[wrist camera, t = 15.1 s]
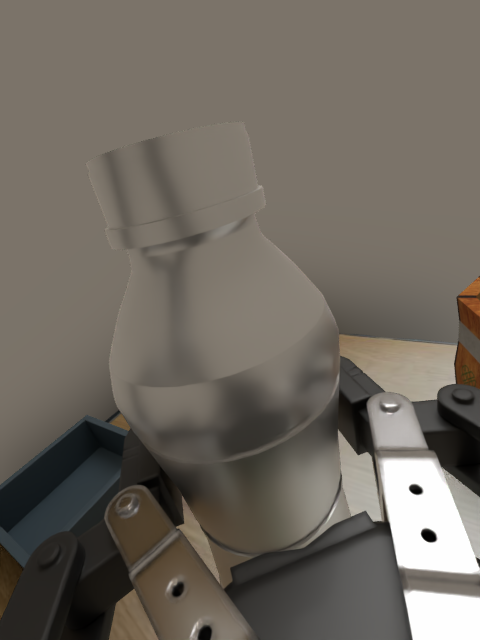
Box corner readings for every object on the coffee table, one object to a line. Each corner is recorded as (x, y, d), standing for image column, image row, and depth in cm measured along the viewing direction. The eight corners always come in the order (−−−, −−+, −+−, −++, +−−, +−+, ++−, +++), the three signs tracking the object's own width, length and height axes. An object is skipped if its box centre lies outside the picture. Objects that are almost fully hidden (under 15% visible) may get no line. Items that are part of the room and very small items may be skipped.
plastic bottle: (403, 589, 15) (375, 87, 7) (326, 768, 12) (70, 121, 3) (291, 512, 20) (195, 150, 12) (209, 622, 16) (-23, 196, 8)
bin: (59, 607, 29) (28, 573, 27) (-3, 540, 37) (-31, 509, 35) (170, 473, 40) (154, 440, 37) (103, 443, 47) (86, 414, 45)
